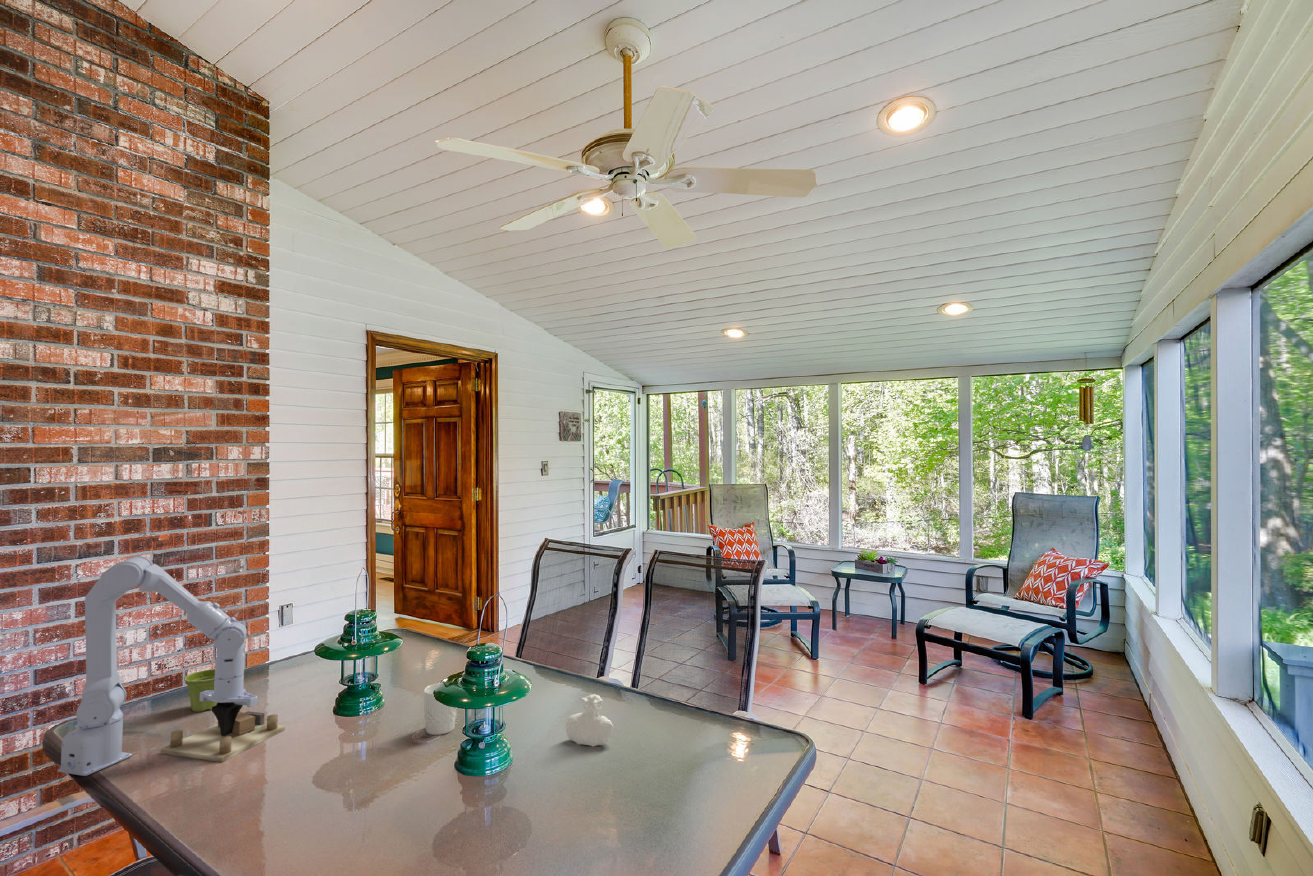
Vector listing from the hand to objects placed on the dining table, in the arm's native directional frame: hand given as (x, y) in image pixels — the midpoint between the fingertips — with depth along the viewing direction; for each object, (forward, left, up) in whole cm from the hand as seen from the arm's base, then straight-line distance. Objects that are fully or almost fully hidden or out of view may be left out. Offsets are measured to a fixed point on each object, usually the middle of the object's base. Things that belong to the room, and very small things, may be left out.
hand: (226, 734), depth 146 cm
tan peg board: (0, 0, -2) cm, 2 cm away
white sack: (+21, -83, -2) cm, 85 cm away
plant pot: (+15, +23, -2) cm, 28 cm away
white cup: (+18, -45, -2) cm, 48 cm away
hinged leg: (+4, +2, 0) cm, 5 cm away
